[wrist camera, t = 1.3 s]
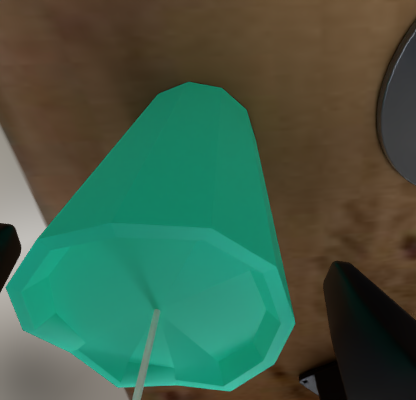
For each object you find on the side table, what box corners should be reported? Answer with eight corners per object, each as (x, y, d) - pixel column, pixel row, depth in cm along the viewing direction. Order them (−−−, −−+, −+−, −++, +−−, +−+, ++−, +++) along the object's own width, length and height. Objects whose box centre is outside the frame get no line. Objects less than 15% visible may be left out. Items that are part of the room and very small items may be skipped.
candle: (125, 87, 14) (-157, 300, 4) (254, 75, 13) (343, 289, 3) (151, 196, 17) (39, 467, 7) (256, 190, 16) (301, 478, 6)
